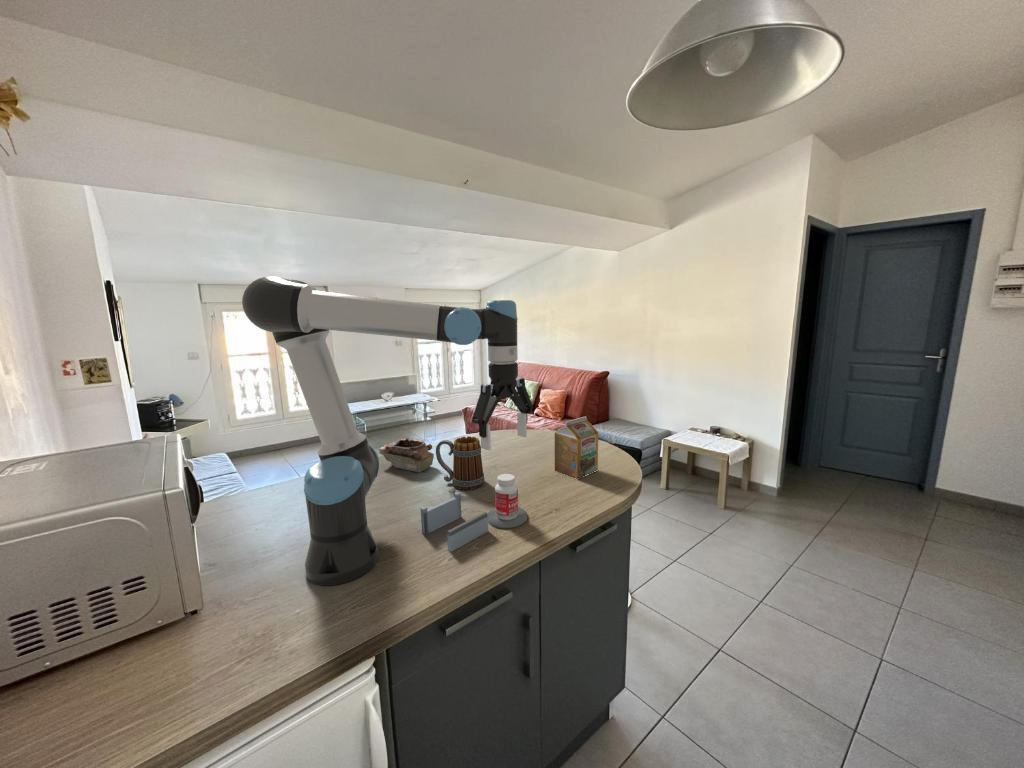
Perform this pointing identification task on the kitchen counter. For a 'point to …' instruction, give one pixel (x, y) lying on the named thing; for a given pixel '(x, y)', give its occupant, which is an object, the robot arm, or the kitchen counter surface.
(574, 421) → the milk carton
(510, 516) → the pill bottle
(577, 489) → the kitchen counter surface
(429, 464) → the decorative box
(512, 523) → the coaster
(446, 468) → the mug
